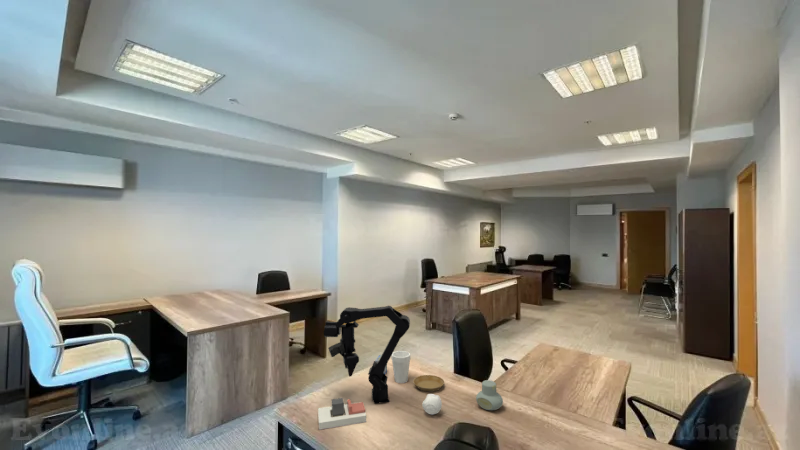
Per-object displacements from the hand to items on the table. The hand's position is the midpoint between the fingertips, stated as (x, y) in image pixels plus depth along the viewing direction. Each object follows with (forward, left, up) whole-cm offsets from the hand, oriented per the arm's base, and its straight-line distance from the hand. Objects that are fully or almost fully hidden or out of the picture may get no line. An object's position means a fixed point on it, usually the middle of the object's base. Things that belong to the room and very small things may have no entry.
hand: (348, 372), depth 149 cm
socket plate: (+5, +15, -12) cm, 19 cm away
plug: (+6, +15, -12) cm, 20 cm away
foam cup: (-27, -11, -12) cm, 32 cm away
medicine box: (-19, -21, -12) cm, 31 cm away
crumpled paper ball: (-31, +22, -12) cm, 40 cm away
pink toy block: (-1, +15, -9) cm, 17 cm away
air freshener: (-56, +24, -12) cm, 62 cm away
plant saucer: (-38, -1, -12) cm, 41 cm away
